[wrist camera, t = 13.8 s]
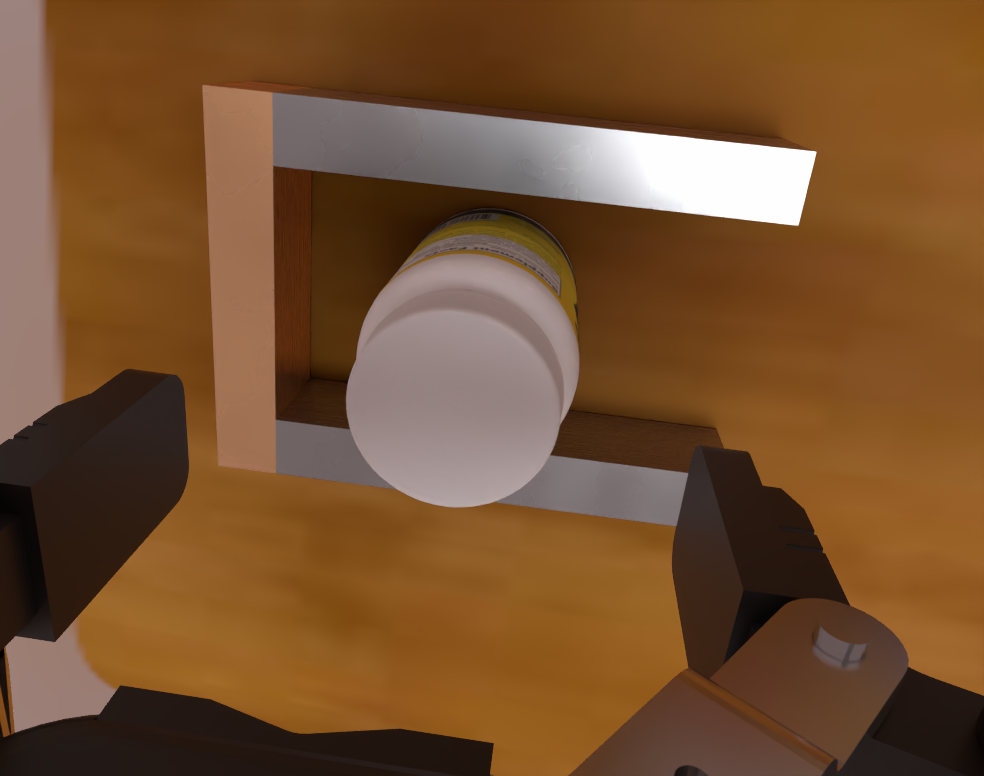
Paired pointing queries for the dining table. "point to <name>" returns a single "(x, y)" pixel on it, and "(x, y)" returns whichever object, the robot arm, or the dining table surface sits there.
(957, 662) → the dining table surface
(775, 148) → the frame
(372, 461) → the supplement bottle
